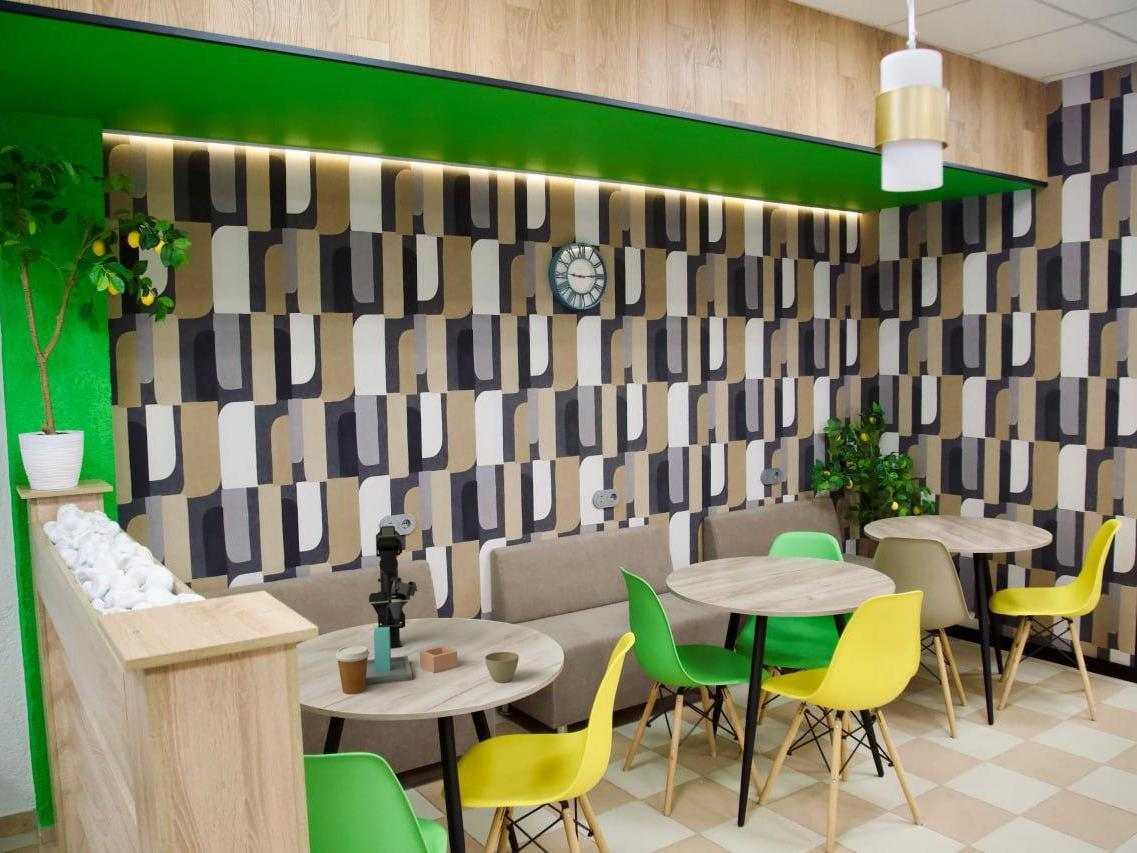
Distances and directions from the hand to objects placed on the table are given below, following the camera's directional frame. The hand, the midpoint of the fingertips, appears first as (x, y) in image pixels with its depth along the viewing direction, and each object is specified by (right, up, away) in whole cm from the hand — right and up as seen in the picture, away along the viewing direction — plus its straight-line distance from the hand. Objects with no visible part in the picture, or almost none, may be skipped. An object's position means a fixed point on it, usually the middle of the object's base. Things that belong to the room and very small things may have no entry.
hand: (390, 624), depth 291 cm
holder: (+16, -12, -6) cm, 21 cm away
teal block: (0, -12, -10) cm, 15 cm away
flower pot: (+37, -13, -19) cm, 43 cm away
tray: (0, -13, -11) cm, 17 cm away
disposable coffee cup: (-6, -14, -26) cm, 30 cm away
